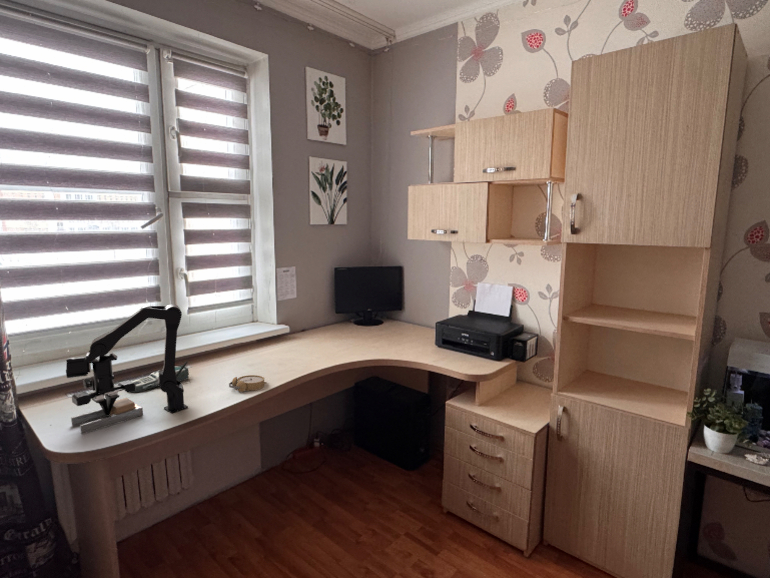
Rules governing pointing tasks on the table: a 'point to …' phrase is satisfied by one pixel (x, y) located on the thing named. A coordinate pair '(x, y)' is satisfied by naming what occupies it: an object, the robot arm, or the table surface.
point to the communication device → (152, 379)
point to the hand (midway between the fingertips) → (107, 415)
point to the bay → (103, 419)
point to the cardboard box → (122, 406)
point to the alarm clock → (247, 383)
